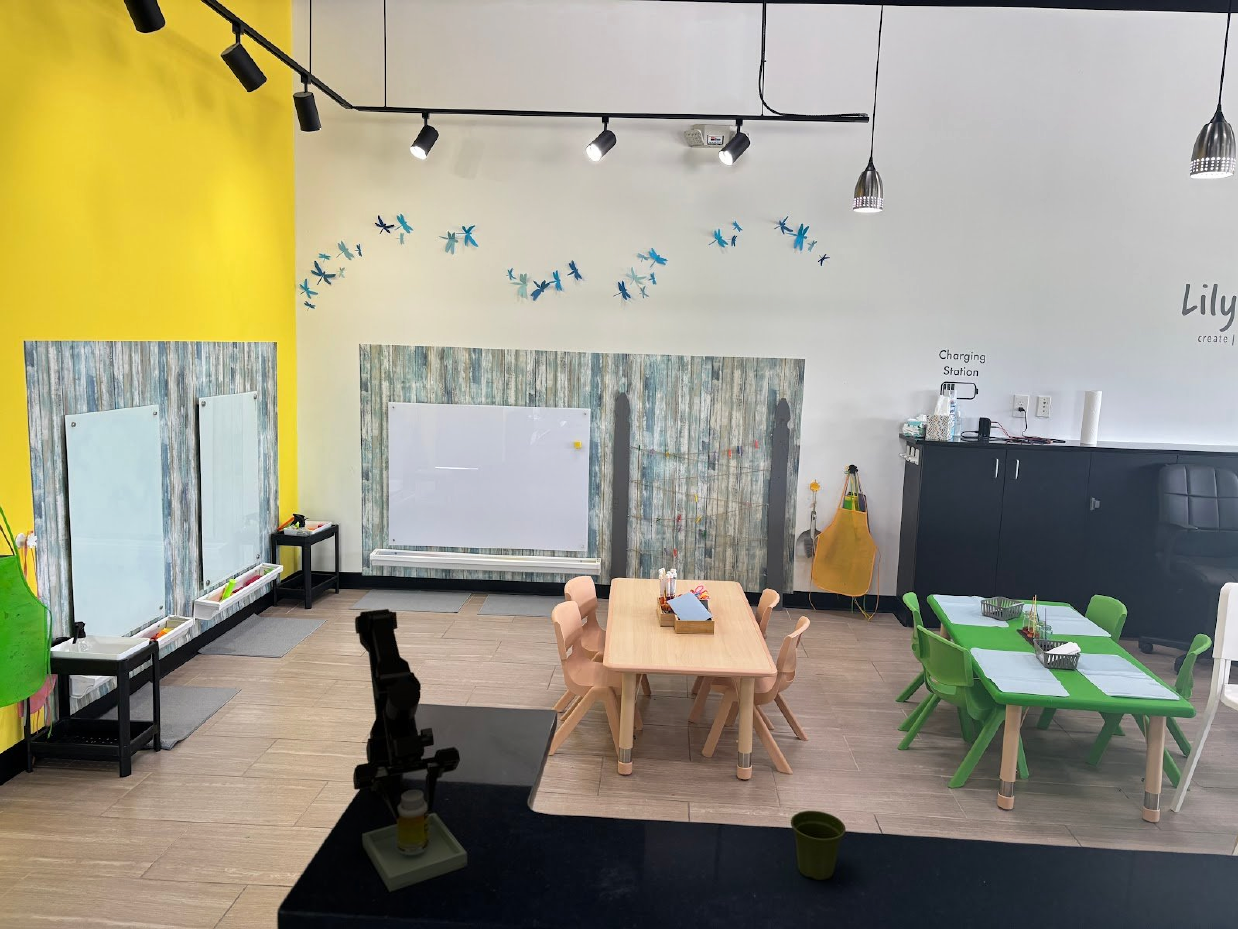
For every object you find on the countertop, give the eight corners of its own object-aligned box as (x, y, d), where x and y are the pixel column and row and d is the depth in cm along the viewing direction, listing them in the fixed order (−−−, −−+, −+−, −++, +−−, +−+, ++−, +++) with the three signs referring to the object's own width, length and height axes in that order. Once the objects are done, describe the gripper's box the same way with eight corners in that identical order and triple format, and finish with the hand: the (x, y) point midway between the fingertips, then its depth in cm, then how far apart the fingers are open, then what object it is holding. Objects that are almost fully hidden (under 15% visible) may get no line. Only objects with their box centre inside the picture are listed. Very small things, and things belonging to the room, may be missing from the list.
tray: (362, 846, 158) (362, 834, 158) (435, 825, 166) (434, 812, 166) (389, 892, 145) (389, 878, 145) (467, 866, 153) (466, 853, 152)
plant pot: (824, 851, 158) (826, 807, 157) (854, 880, 149) (856, 834, 148) (779, 860, 155) (781, 815, 154) (806, 891, 146) (808, 843, 145)
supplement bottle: (429, 854, 153) (428, 801, 152) (397, 858, 152) (396, 804, 151) (428, 837, 159) (427, 785, 157) (397, 841, 158) (396, 789, 156)
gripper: (353, 723, 152) (363, 812, 144) (456, 706, 160) (472, 789, 151) (348, 746, 160) (358, 831, 152) (447, 729, 168) (462, 809, 159)
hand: (414, 815), depth 153 cm, fingers open, 6 cm apart
